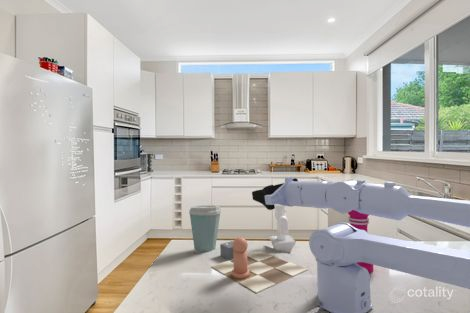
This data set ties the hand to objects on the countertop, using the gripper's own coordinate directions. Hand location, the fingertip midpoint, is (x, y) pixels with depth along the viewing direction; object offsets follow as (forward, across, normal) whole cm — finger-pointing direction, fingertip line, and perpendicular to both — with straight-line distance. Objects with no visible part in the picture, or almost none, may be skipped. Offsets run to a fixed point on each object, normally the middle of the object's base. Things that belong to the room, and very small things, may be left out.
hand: (263, 192), depth 68 cm
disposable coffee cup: (+25, +5, +19) cm, 32 cm away
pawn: (+2, +10, +19) cm, 21 cm away
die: (+14, +3, +20) cm, 25 cm away
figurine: (+9, -14, +22) cm, 28 cm away
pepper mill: (-14, -18, +24) cm, 33 cm away
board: (+2, +4, +21) cm, 21 cm away
